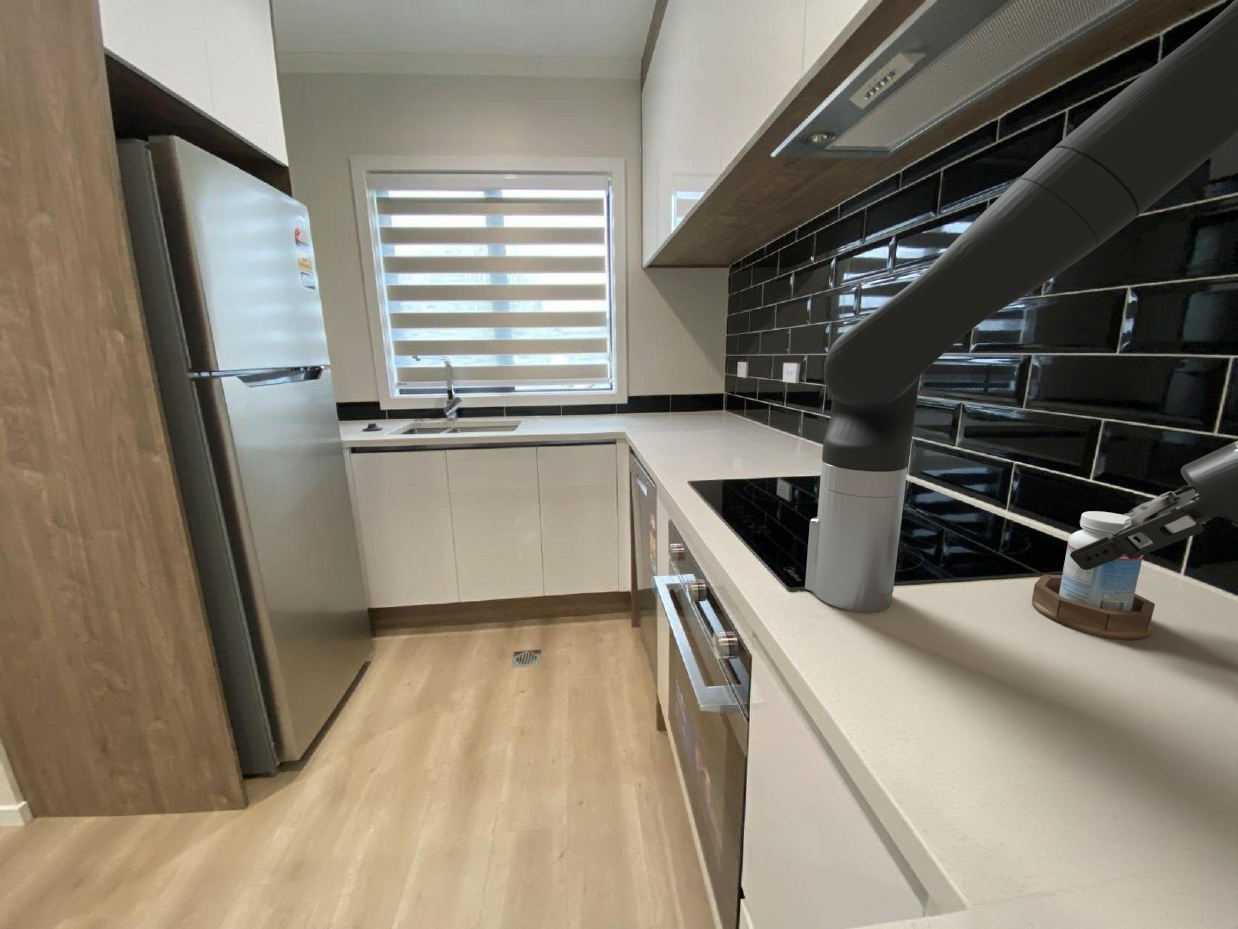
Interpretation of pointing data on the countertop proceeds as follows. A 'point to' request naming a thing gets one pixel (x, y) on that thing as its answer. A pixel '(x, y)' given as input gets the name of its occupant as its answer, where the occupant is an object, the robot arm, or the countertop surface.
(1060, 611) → the bowl
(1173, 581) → the countertop surface
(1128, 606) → the pill bottle
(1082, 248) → the robot arm
